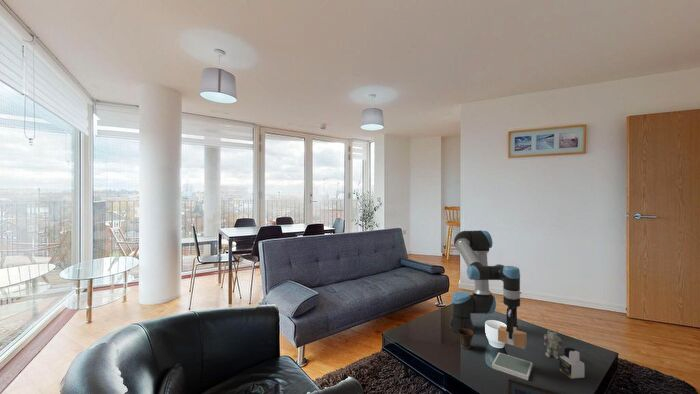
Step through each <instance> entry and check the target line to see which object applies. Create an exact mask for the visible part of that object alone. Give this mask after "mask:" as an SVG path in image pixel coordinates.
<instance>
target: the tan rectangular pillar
mask: <svg viewBox="0 0 700 394" xmlns="http://www.w3.org/2000/svg"><path fill="white" fill-rule="evenodd" d="M506 330H507V326H503V325H500V326H499V328H498V329H497V341H498V342H501V343H504V344H506V345H509V344H508V332H507V331H506ZM513 332H514V345H512V346H513V347H517V348H520V349H524V350H525V349H526V347H527V343H528V342H527V340H528V339H527V337H528V336H527V335H528V333H527V332H525V331H521V330H518V329H516V330H514V329H513Z"/></svg>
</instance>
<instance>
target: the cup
mask: <svg viewBox="0 0 700 394" xmlns="http://www.w3.org/2000/svg"><path fill="white" fill-rule="evenodd" d="M457 333H458V336H459V339H460V346H461V348H462V349H463V350H470V349H471V344H472V341H473V337H474V335H475V331H472V330H470V329H466V328H460V329H458V332H457Z"/></svg>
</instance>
